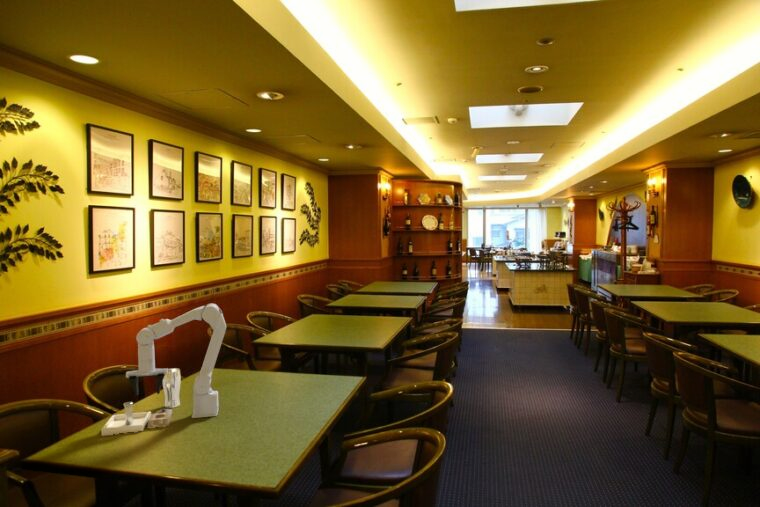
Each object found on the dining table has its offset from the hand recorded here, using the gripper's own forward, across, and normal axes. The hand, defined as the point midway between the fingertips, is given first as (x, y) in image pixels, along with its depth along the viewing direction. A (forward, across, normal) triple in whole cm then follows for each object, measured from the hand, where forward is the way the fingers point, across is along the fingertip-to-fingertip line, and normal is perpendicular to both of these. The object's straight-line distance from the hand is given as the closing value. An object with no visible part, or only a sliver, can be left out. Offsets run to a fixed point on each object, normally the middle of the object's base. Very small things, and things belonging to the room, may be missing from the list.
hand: (147, 394), depth 183 cm
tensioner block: (+10, +5, -2) cm, 12 cm away
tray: (+10, -6, -4) cm, 13 cm away
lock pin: (+10, -6, -4) cm, 12 cm away
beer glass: (+11, +6, +15) cm, 19 cm away
